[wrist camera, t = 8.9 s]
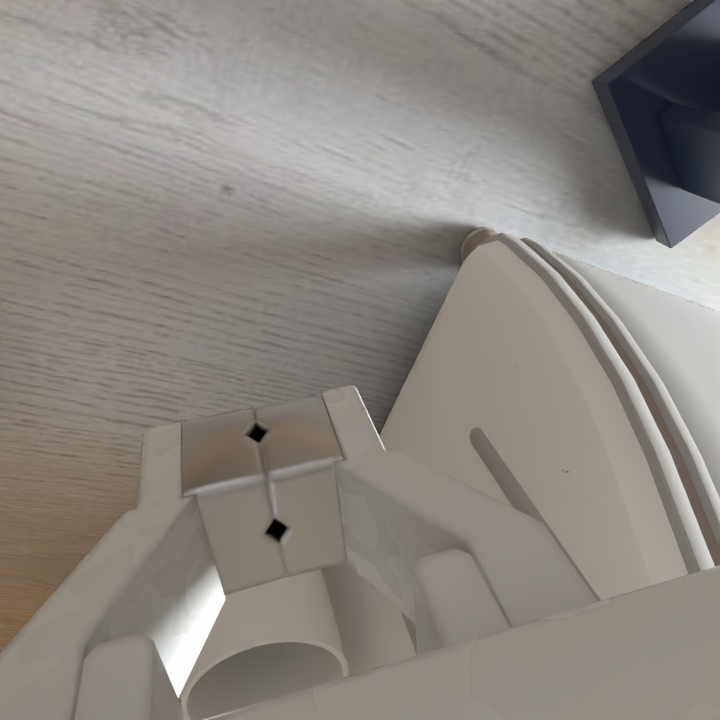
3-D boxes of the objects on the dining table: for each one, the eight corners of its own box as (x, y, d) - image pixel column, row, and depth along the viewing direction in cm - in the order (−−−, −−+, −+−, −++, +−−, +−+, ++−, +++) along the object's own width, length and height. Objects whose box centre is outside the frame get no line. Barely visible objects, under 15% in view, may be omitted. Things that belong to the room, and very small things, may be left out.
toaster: (200, 750, 46) (215, 1255, 28) (450, 198, 28) (963, 578, 10) (435, 737, 55) (567, 1117, 36) (741, 307, 37) (1308, 621, 18)
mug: (276, 426, 33) (319, 615, 23) (316, 506, 36) (368, 698, 26) (100, 497, 32) (65, 723, 22) (159, 571, 36) (151, 792, 26)
